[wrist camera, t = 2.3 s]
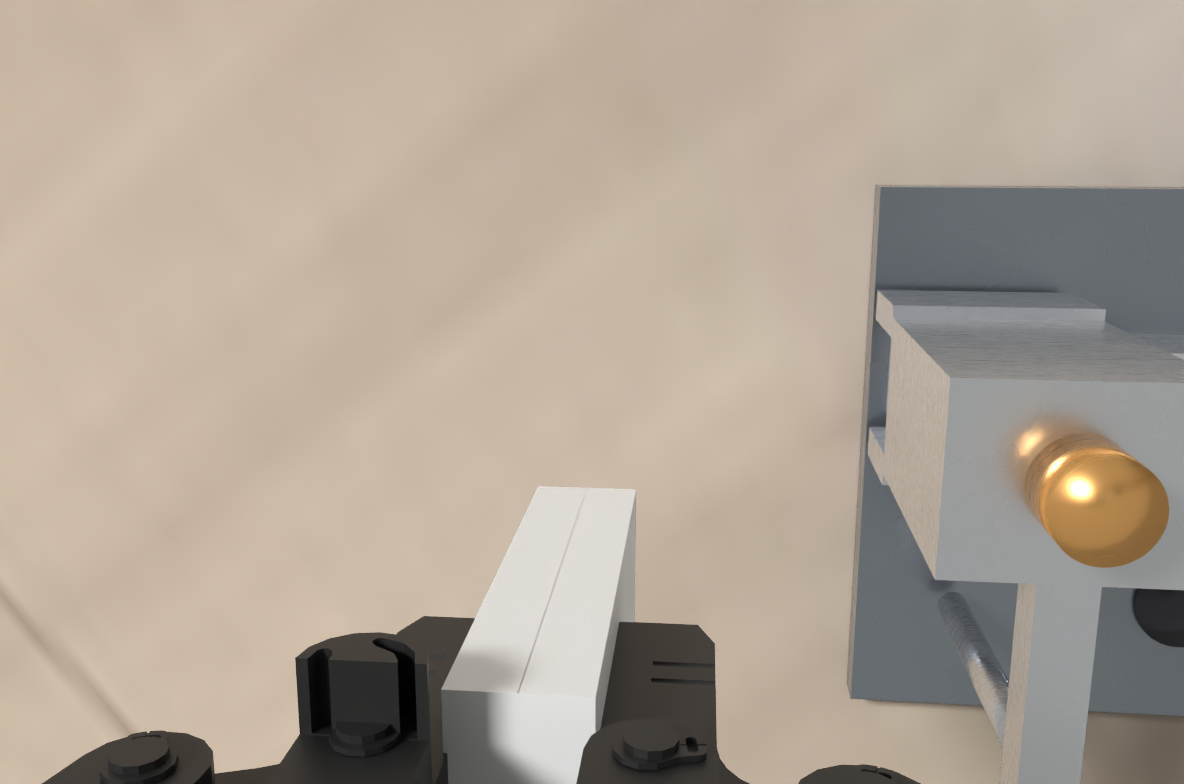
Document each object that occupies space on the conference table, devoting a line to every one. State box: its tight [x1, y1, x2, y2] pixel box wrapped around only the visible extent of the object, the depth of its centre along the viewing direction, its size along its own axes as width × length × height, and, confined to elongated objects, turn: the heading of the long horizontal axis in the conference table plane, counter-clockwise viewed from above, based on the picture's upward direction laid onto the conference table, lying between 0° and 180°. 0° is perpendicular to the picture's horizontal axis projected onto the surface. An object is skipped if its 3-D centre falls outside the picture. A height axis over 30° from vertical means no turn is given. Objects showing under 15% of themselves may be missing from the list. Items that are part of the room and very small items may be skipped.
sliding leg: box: [868, 290, 1184, 784], centre depth 26 cm, size 5×9×11 cm, turn 0°
